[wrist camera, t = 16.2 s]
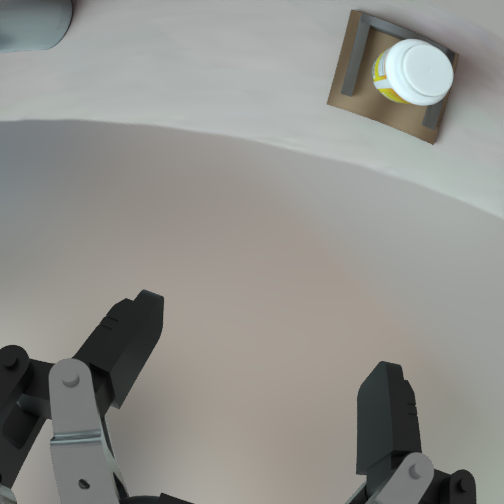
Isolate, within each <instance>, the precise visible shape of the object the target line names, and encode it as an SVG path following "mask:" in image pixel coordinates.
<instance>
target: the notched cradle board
mask: <svg viewBox="0 0 504 504" xmlns="http://www.w3.org/2000/svg"><path fill="white" fill-rule="evenodd" d="M406 39H418V40H422V41H425V42H427V43H429V44H431V45H432V46H434V47H436V48H438V49H439V50H441V51H442V52H443V53H444V54H445V55H446V56H447V58H448V59H449V61H450V63H451V65H452V68H453V77H454V73H455V69H456V65H457V60H458V56H459V55H458V54H457V53H455V52H453V51H451V50H449V49H447V48H445V47H443V46H441V45H440V44H438V43H436V42H433V41H431V40H429V39H427V38H425V37H423V36H421V35H419V34H416V33H414V32H412V31H409V30H407V29H405V28H402V27H400V26H397V25H395V24H392V23H390V22H387V21H384V20H382V19H379V18H376V17H373V16H370V15H368V14H365V13H361V12H358V11H355V10H351V13H350V17H349V21H348V25H347V29H346V33H345V37H344V41H343V45H342V49H341V52H340V56H339V60H338V64H337V68H336V71H335V75H334V79H333V83H332V86H331V90H330V94H329V97H328V101H327V104H328V105H331V106H334V107H338V108H341V109H344V110H347V111H350V112H353V113H356V114H358V115H361V116H364V117H367V118H370V119H372V120H375V121H378V122H380V123H383V124H386V125H388V126H391V127H393V128H396V129H398V130H401V131H403V132H405V133H408V134H410V135H412V136H415V137H417V138H419V139H421V140H424V141H426V142H428V143H430V144H432V145H433V144H434V142H435V139H436V136H437V133H438V129H439V126H440V123H441V120H442V117H443V113H444V110H445V107H446V103H447V100H448V96H449V93H450V89H451V87H450V89H449V90H448V92H447V94H446V95H445V97H444V98H443V99H442V100H440V101H439V102H437V103H435V104H432V105H427V106H420V105H413V104H405V103H398V102H394V101H391V100H389V99H387V98H386V97H384V96H383V95H382V94H381V93H380V92H379V91H378V90H377V88H376V87H375V85H374V83H373V80H372V73H371V71H372V65H373V63H374V61H375V59H376V58H377V57H378V56H379V55H380V54H381V53H383V52H384V51H386V50H387V49H389V48H390V47H392V46H393V45H395V44H396V43H398V42H400V41H402V40H406Z"/></svg>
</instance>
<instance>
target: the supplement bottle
mask: <svg viewBox="0 0 504 504" xmlns="http://www.w3.org/2000/svg"><path fill="white" fill-rule="evenodd" d="M371 73H372V80H373V83H374V85H375V87H376V88H377V90H378V91H379V92H380V93H381V94H382V95H383V96H384V97H386V98H387V99H389V100H391V101H394V102H398V103H405V104H413V105H420V106H427V105H432V104H435V103H437V102H439V101H440V100H442V99H443V98H444V97H445V95H446V94H447V92H448V90H449V89H450V87H451V85H452V83H453V68H452V65H451V63H450V61H449V59H448V58H447V56H446V55H445V54H444V53H443V52H442V51H441V50H439V49H438V48H436V47H434V46H432V45H431V44H429V43H427V42H425V41H422V40H418V39H406V40H402V41H400V42H398V43H396V44H395V45H393V46H392V47H390V48H389V49H387V50H386V51H384V52H383V53H381V54H380V55H379V56H378V57H377V58H376V59H375V61H374V63H373V65H372V71H371Z"/></svg>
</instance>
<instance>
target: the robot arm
mask: <svg viewBox="0 0 504 504" xmlns="http://www.w3.org/2000/svg"><path fill="white" fill-rule="evenodd" d="M71 16H72V4H71V1H70V0H0V53H8V52H18V51H32V50H47V49H50V48H52V47H53V46H55V45H56V44H57V43H58V42H59V41H60V40H61V39H62V37H63V36H64V34H65V32H66V31H67V29H68V26H69V24H70V20H71ZM163 310H164V297H163V296H160V295H158V294H155V293H152V292H149V291H147V290H142V291H141V292H140V293H139V294H138V296H137V297H136V298H135V300H134V301H132V300H130V299H127V298H126V299H124V300H122V301H120V302H119V303H117V304H115V305H114V306H113V307H112V308H111V309H110V311H109V312H108V313H107V314H106V317H104V318H103V319H102V321H101V322H100V324H99V325H98V326H97V327H96V328H95V330H94V331H93V332H92V333H91V335H90V336H89V337H88V339H87V340H86V341H85V343H84V344H83V345H82V347H81V348H80V349H79V351H78V352H77V353H76V354H75V356H73V357H72V358H69V359H63V360H61V361H59V362H57V363H56V364H53V363H47V362H42V361H38V360H33V359H30V358H29V356H28V354H27V353H26V351H25V350H24V349H23V348H22V347H20V346H17V345H9V346H5V347H3V348H1V349H0V504H17V501H16V498H15V496H14V493H13V492H12V490H11V488H12V486H13V483H14V482H15V480H16V477H17V475H18V473H19V471H20V469H21V467H22V465H23V463H24V461H25V459H26V457H27V455H28V452H29V451H30V449H31V447H32V445H33V443H34V441H35V439H36V437H37V435H38V434H39V432H40V430H41V428H42V426H43V424H44V423H45V421H46V419H51V420H52V424H53V433H54V436H53V438H52V439H51V441H50V450H51V456H52V463H53V468H54V473H55V478H56V482H57V487H58V492H59V495H60V500H61V504H193V503H190V502H187V501H184V500H181V499H178V498H175V497H172V496H169V495H167V494H164V493H161V495H160V497H157V496H134V497H129V494H128V492H127V489H126V486H125V483H124V480H123V477H122V474H121V471H120V468H119V466H118V463H117V460H116V457H115V453H114V450H113V446H112V442H111V438H110V434H109V429H108V425H107V421H106V416H105V414H106V412H107V410H108V409H109V407H110V405H111V406H113V407H115V408H118V409H120V407H121V405H122V404H123V402H124V400H125V398H126V396H127V395H128V393H129V391H130V389H131V388H132V386H133V384H134V382H135V380H136V379H137V377H138V375H139V373H140V372H141V370H142V368H143V366H144V365H145V363H146V361H147V359H148V358H149V356H150V354H151V352H152V351H153V349H154V347H155V345H156V344H157V342H158V340H159V338H160V335H161V332H162V328H163ZM415 405H416V402H415V395H414V391H413V389H412V388H411V385H410V384H409V382H408V380H404V378H403V372H402V367H401V365H398V364H394V363H389V362H385V361H381V362H379V364H378V365H377V366H376V367H375V368H374V370H373V371H372V372H371V373H370V375H369V376H368V377H367V378H366V380H365V381H364V382H363V383H362V385H361V387H360V389H359V392H358V396H357V464H356V474H358V475H367V481H365V482H364V483H363V484H362V485H361V486H360V487H359V488H358V490H357V491H356V492H355V493H354V494H353V495H352V496H351V497H350V498H349V500H348V501H347V502H346V503H345V504H476V485H475V480H474V477H473V476H472V474H471V473H470V472H469V471H467V470H463V469H462V470H458V471H456V472H455V473H453V474H451V475H450V474H447V473H444V472H442V471H439V470H436V469H434V468H433V464H432V462H431V460H430V459H429V458H428V457H427V456H426V455H424V454H422V450H421V440H420V431H419V423H418V417H417V409H416V407H415Z"/></svg>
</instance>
